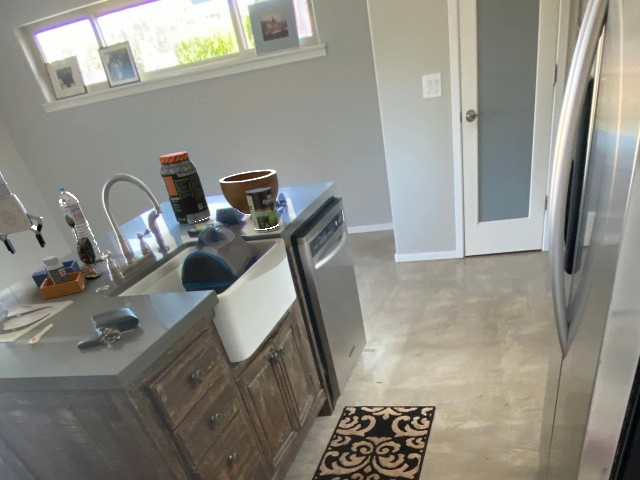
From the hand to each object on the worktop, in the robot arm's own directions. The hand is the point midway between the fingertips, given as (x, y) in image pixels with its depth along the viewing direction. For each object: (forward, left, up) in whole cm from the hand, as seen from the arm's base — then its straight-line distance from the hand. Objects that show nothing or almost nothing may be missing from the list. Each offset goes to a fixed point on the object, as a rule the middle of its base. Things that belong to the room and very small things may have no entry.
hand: (28, 249), depth 176 cm
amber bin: (+8, -10, -12) cm, 17 cm away
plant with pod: (+15, +2, -12) cm, 20 cm away
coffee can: (+83, +19, -12) cm, 86 cm away
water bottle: (+14, +25, -12) cm, 31 cm away
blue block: (0, 0, -12) cm, 12 cm away
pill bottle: (+7, -10, -12) cm, 17 cm away
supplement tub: (+55, +64, -12) cm, 85 cm away
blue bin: (+4, +10, -12) cm, 16 cm away
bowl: (+82, +50, -12) cm, 97 cm away
